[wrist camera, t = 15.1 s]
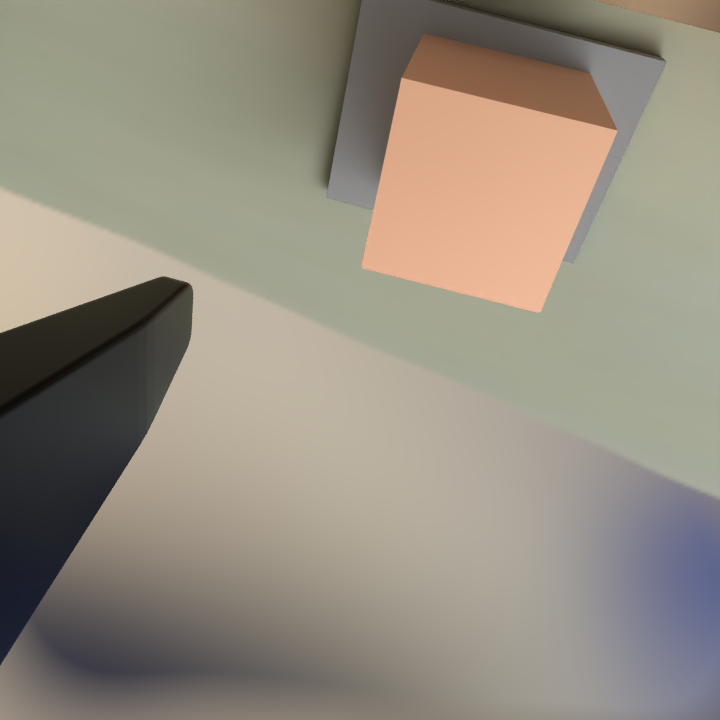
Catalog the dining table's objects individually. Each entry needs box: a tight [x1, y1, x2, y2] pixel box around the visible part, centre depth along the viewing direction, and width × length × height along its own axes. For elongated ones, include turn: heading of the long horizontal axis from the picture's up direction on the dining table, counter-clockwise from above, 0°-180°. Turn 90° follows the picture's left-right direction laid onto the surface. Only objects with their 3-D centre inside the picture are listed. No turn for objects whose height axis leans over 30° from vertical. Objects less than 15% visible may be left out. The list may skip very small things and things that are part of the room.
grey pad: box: [326, 0, 666, 263], centre depth 19 cm, size 8×6×1 cm
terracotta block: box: [361, 33, 618, 313], centre depth 17 cm, size 4×4×5 cm
